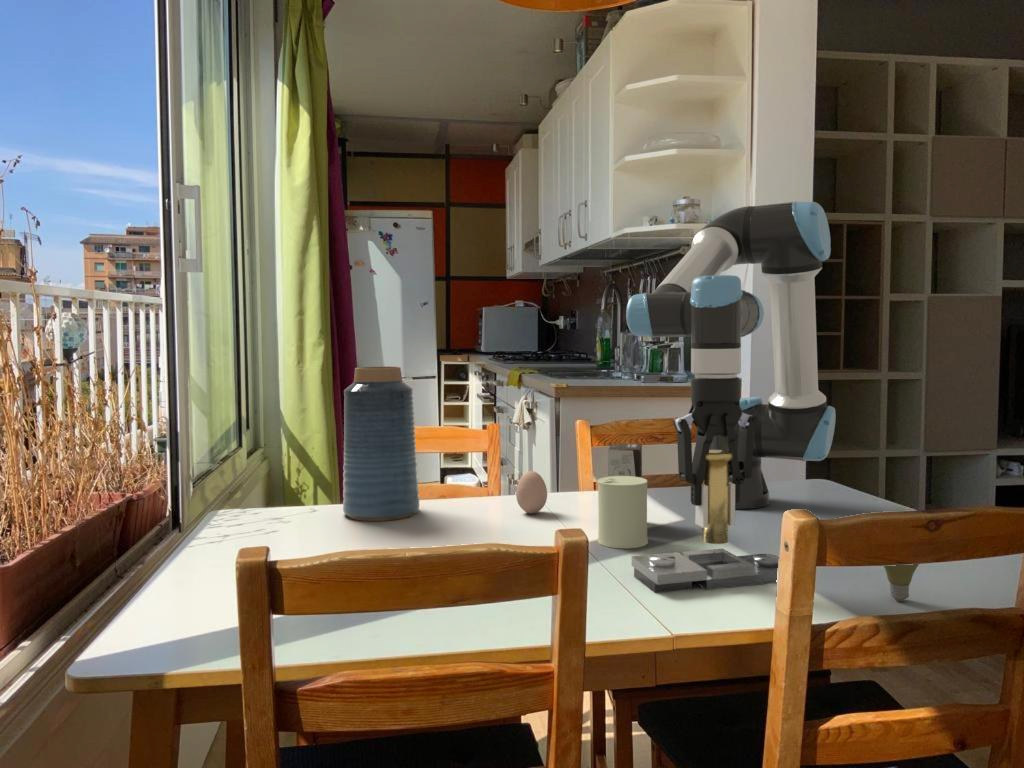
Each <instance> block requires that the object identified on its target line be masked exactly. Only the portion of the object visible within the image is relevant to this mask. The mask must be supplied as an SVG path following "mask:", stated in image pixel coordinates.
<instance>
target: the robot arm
mask: <svg viewBox="0 0 1024 768" xmlns="http://www.w3.org/2000/svg"><path fill="white" fill-rule="evenodd" d="M828 221H829V220H828V218H827V215H826V213H825V210H824V208H823V207H822V206H821V205H820V204H819V203H818V202H815V201H791V202H781V203H772V204H770V203H769V204H762V205H761V204H760V205H752V206H751V205H749V206H742V207H738V208H735V209H732V210H729V211H727V212H725V213H723V214H721V215H719V216H717V217H716V218H714V219H713V220H711V221H710V222H708V223H707V224H705V225H704V227H702V228H701V229H699V231H698V232H697V234H696V235H695V236H694V237H693V239H692V241H691V247H690V249H689V250H688V251H687V253H685V255H684V256H683V257H682V258H681V259H680V260H679V261H678V263H677V264H676V265H675V267H673V269H672V270H671V271H670V272H669V273H668V274H667V276H666V277H665V278H664V279H663V280H662V281H661V283H660V284H659V285H658V286H657V287H656V288H655V290H653V292H651V293H647V292H643V293H637V294H634V295H631V297H630V298H629V299H628V302H627V304H626V311H625V312H626V313H625V317H626V319H625V320H626V323H627V327H628V330H629V332H630V333H631V334H632V335H633V336H636V337H645V338H646V337H647V338H648V337H649V338H651V339H652V338H659V337H660V338H668V337H669V338H670V337H671V338H673V337H674V338H675V337H676V338H677V337H680V338H681V337H691V338H690V339H691V341H690V342H691V344H690V347H691V348H690V372H691V373H692V374H693V375H694V377H691V380H690V400H691V406H690V408H689V410H688V414H686V415H684V416H682V417H674V418H673V420H672V422H673V423H672V424H673V425H674V428H675V430H676V438H677V440H676V441H677V463H678V464H677V465H678V466H677V467H678V479H680V480H681V481H684V482H687V483H689V485H690V502H691V505H693V506H694V507H695V509H694V511H695V516H694V517H695V518H694V519H695V521H694V523H695V525H697V526H699V527H701V528H702V527H703V528H707V527H708V486H707V485H704V484H703V482H704V476H705V471H706V466H707V461H705V454H709V450H722V451H725V452H728V453H733V460H730V461H729V509H728V526H736V509H737V510H738V509H739V510H746V509H757V508H758V509H759V508H763V507H766V506H768V505H769V504H770V492H769V488H768V485H767V482H766V479H765V476H764V473H763V470H762V458H766V459H778V460H779V459H780V460H792V461H801V462H806V461H807V462H808V461H809V462H810V461H813V462H820V461H823V460H825V459H826V458H827V457H828V455H829V453H830V451H831V447H832V444H833V438H834V434H835V427H836V418H837V417H836V415H837V414H836V409H835V407H834V406H831V405H827V403H828V402H827V396H826V395H825V394H824V393H823V392H822V391H820V390H819V376H818V375H819V373H818V372H819V370H818V345H817V344H818V343H817V342H818V341H817V340H818V338H817V315H816V314H817V310H816V285H815V283H816V282H815V281H816V280H815V277H816V276H817V275H818V274H819V273H820V271H821V270H823V262H824V261H826V260H829V258H830V256H831V252H832V248H831V241H832V240H831V232H830V226H829V223H828ZM747 264H751V265H752V264H754V265H755V264H760V266H761V268H760V269H761V275H763V276H764V277H765V278H766V279H768V280H769V287H770V291H769V293H770V309H771V311H770V312H771V329H772V331H771V332H772V333H771V335H772V347H773V348H772V349H773V350H772V351H773V352H772V353H773V371H774V372H773V373H774V392H773V393H772V394H771V395H770V396H769V398H767V399H768V404H764V402H763V399H762V398H761V397H760V396H757V397H756V396H754V397H753V396H752V397H749V396H748V397H741V395H742V394H741V393H742V388H741V385H742V381H741V378H740V377H738V375H739V374H741V373H742V349H741V348H742V343H741V342H742V338H743V337H746V336H748V335H750V334H753V333H754V332H756V331H757V330H758V329H759V328H760V326H761V324H762V323H763V320H764V316H765V315H764V314H765V311H764V310H765V309H764V306H763V304H762V302H761V300H760V299H759V298H758V297H757V296H756V295H754V294H752V293H751V292H749V291H747V290H743V289H742V280H741V278H740V277H739V276H737V275H733V274H732V275H731V274H730V275H727V274H726V275H725V274H723V275H721V274H722V272H726V271H728V270H729V269H731V268H732V267H733V266H737V265H747ZM692 423H693V424H692ZM692 425H694V426H695V427H696V433H695V440H696V442H695V445H694V446H695V447H694V452H693V446H692V444H693V443H692V442H693V441H692V433H691V429H692V428H693V426H692Z"/></svg>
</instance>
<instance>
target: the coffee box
mask: <svg viewBox="0 0 1024 768" xmlns="http://www.w3.org/2000/svg"><path fill="white" fill-rule="evenodd" d="M642 446H643V444H642V443H636V442H635V443H634V442H633V443H632V442H627V443H626V442H625V443H624V442H623V443H611V444H610V446H609V447H608V449H607V450H608V452H607V453H608V454H607V455H608V459H607V461H608V463H607V464H608V468H607V469H608V473H607V475H608V476H607V477H609V476H634V477H640V478H643V451H642V450H643V448H642Z"/></svg>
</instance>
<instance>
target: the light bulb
mask: <svg viewBox="0 0 1024 768" xmlns="http://www.w3.org/2000/svg"><path fill="white" fill-rule="evenodd" d="M919 565H920V563H919V564H913V565H896V566H883V568H884V569H885V572H886V578H887V580H888V582H889V584H890V585H889V586H890V588H889V589H890V590H889V591H890V592H889V594H890V596H891V597H892V598H893V599H894V600H895V601H896V602H903V601H905V600H906V599H908V598H909V596H910V593H909V592H910V585H911V582H912V579H913V575H914V573H915V572H916V570H917V568H918V566H919Z"/></svg>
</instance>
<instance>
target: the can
mask: <svg viewBox="0 0 1024 768" xmlns="http://www.w3.org/2000/svg"><path fill="white" fill-rule="evenodd" d="M648 483H649V482H648V479H647V478H643V477H642V478H640V477H634V476H609V477H608V476H603V477H601V478H598V479H597V492H598V493H597V495H598V498H597V499H598V501H597V502H598V504H597V505H598V506H597V508H598V538H597V543H598V544H599V545H600V546H604V547H606V548H607V547H608V548H613V549H622V550H624V549H627V550H628V549H638V548H641V547H645V546H647V545H648V543H649V539H648Z"/></svg>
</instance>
